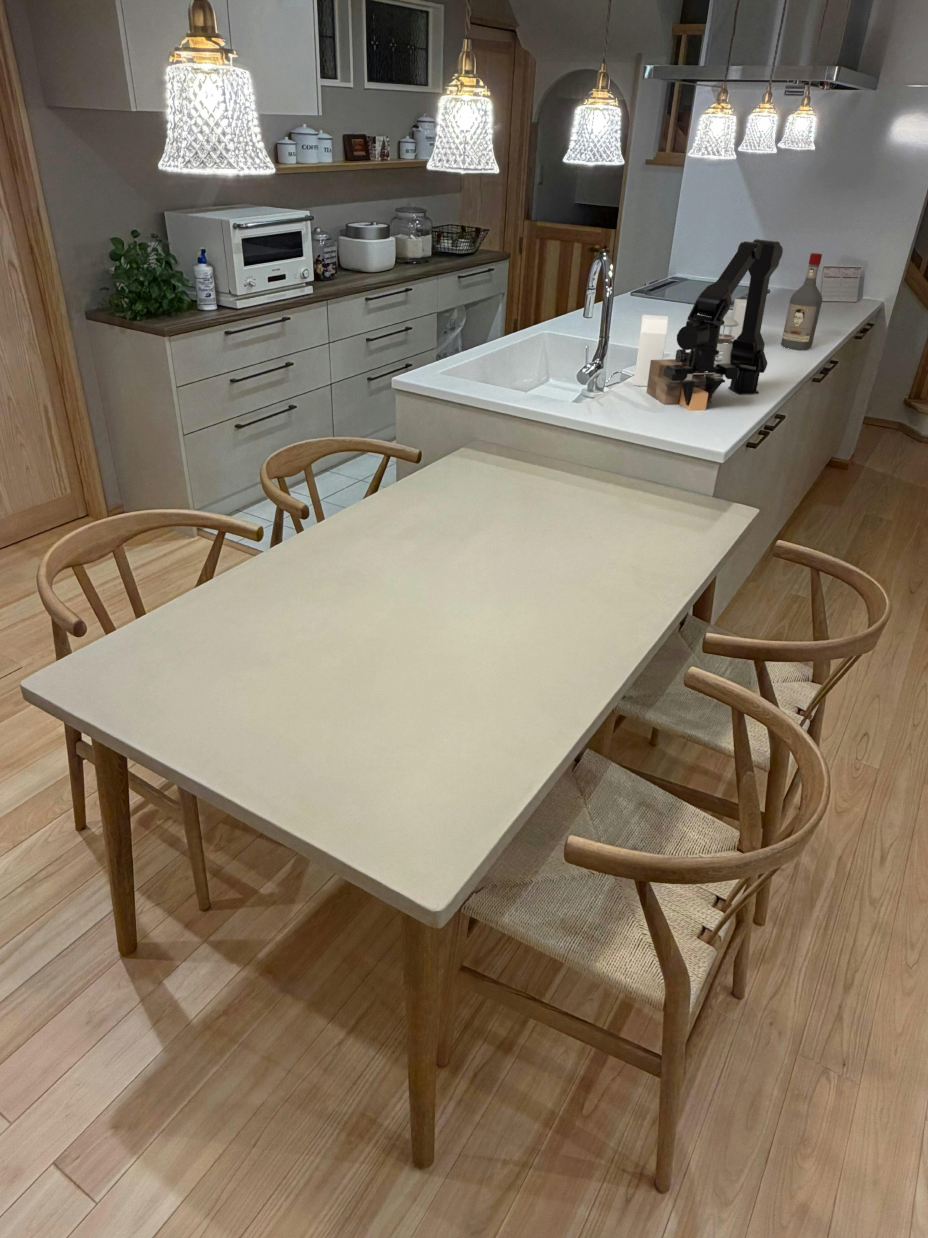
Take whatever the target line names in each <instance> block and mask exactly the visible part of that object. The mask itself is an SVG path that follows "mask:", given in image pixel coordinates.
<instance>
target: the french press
mask: <svg viewBox="0 0 928 1238" xmlns="http://www.w3.org/2000/svg"><path fill="white" fill-rule="evenodd" d="M723 320H724V322H725V323H724V325H721V327H723V331H722V333H719V339H718V345H717V350H719V354H718V355H716V356H715V362H714V366H716V365H717V364H726V363H729V364H730V353H731V350H732V344H733V341H732V339H734V338H735V337H734V336H732V335H729V333H728V334H727V333H724V332H725V328H726V327H727V328H730V327H735V326H738V325H739V323H738V322H737V321H735V320H734V319H732V317H728V312H727V313H726V315H725V316H724V318H723ZM727 343H729V344H727Z"/></svg>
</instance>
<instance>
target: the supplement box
mask: <svg viewBox="0 0 928 1238" xmlns="http://www.w3.org/2000/svg"><path fill="white" fill-rule="evenodd" d="M746 303H747V299H744V298H743V299H742V298H741V299H740V298H735V299H734V303H733V308H732V314H731V318H732V319H734V320H735V321H737V322H738V323H739V325H738V326H735V327H729V329H728V335H732V336H734V337H735V338H734V339H732V341H734V340H735V339H737V338H738V336H739V335H740V334H741V332H742V327H743V321H744V315H745V309H746ZM728 344H729V343H728Z"/></svg>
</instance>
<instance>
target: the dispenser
mask: <svg viewBox="0 0 928 1238" xmlns="http://www.w3.org/2000/svg"><path fill="white" fill-rule="evenodd" d="M667 365H681V362H676V358H675V359H674V358H673V359H663V360H651V362H650V370H649V377H648V384H647V386H646V394H648V395H649V396H651V397H652V398H654V399H655V400H657V401H658V402H659V403H661V404H662V405H664V406H669V405H679V403H678V401H679V394H680V388H681V386H682V384H681V382H680V381H672V380H670V379H668V378H667V377H665V376H663V374H664V369H665V367H666V366H667ZM682 367H684V368H691V367H688V366H682ZM692 380H693V381H694V382H695V383H694V386H697V387H699V388H701V389H702V390H704V391H705V387H706V377H705V376H693V377H692ZM712 398H713V395H712V396H711V398H710V399H709V401H708V402H707V404H712Z"/></svg>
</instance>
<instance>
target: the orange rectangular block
mask: <svg viewBox="0 0 928 1238" xmlns="http://www.w3.org/2000/svg"><path fill="white" fill-rule="evenodd" d="M707 398H708V393H707V392H706V391H704V390H702V389H701V388H699V387H697V386H694V388H693V392H692V397H691V401H690V404H689V406H687V405H686V402H685V397H684V392H683V388H682V386H681V388H680V394H679V401H678V405H681V407H683V408H685V409H686V410H688V411H691V412H693V411H694V412H695V411H706V408H707V404H708V403H707Z"/></svg>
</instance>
